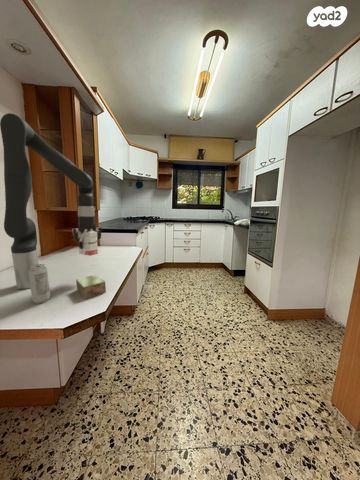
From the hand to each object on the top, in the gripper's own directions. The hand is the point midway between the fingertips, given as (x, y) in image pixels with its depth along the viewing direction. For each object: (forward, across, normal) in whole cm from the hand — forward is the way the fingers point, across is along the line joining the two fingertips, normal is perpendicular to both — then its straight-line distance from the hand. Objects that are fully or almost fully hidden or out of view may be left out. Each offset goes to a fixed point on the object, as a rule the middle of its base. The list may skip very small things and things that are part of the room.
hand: (88, 247), depth 97 cm
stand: (+17, -4, -15) cm, 23 cm away
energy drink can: (+18, -22, -10) cm, 30 cm away
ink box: (+4, 0, 0) cm, 4 cm away
